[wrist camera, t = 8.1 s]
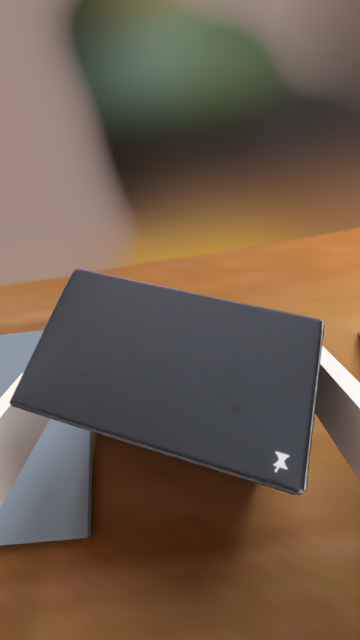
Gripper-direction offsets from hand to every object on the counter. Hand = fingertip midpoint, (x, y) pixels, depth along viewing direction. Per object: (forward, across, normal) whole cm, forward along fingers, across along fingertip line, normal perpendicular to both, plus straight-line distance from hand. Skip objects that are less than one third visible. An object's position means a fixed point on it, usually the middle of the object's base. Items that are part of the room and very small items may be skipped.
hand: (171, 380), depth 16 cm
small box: (+4, 0, -4) cm, 6 cm away
